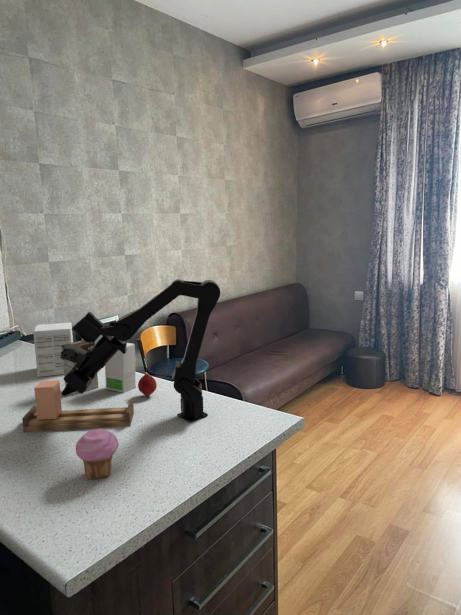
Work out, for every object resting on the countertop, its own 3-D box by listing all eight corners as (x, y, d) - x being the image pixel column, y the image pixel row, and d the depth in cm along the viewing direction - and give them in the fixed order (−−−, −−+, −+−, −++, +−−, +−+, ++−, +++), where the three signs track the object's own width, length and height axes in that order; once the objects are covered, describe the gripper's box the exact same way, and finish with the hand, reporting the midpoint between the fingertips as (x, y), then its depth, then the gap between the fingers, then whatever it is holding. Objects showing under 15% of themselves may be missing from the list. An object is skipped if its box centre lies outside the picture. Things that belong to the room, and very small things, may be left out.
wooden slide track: (133, 413, 132) (133, 400, 131) (130, 426, 123) (129, 412, 122) (34, 418, 129) (33, 405, 128) (23, 432, 120) (22, 418, 120)
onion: (158, 393, 148) (157, 369, 146) (154, 399, 142) (153, 375, 141) (141, 392, 148) (140, 369, 147) (136, 399, 143) (134, 375, 141)
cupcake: (76, 488, 93) (73, 442, 92) (79, 467, 101) (75, 425, 100) (120, 481, 95) (118, 436, 94) (119, 461, 104) (116, 420, 102)
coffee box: (88, 383, 158) (84, 339, 156) (99, 387, 154) (95, 341, 152) (64, 391, 151) (60, 344, 149) (75, 395, 147) (71, 347, 145)
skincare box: (105, 389, 152) (102, 344, 150) (118, 383, 158) (116, 340, 155) (124, 393, 148) (121, 347, 146) (137, 387, 154) (135, 342, 152)
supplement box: (40, 367, 179) (36, 324, 177) (75, 364, 183) (71, 321, 180) (36, 377, 167) (32, 331, 164) (74, 373, 171) (70, 328, 168)
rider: (62, 413, 128) (59, 380, 126) (56, 421, 122) (53, 386, 121) (44, 414, 127) (40, 381, 126) (37, 422, 122) (34, 387, 120)
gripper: (85, 327, 131) (49, 366, 132) (68, 342, 113) (27, 387, 113) (114, 352, 133) (79, 390, 134) (103, 371, 115) (62, 415, 115)
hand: (62, 394), depth 124 cm, fingers closed
